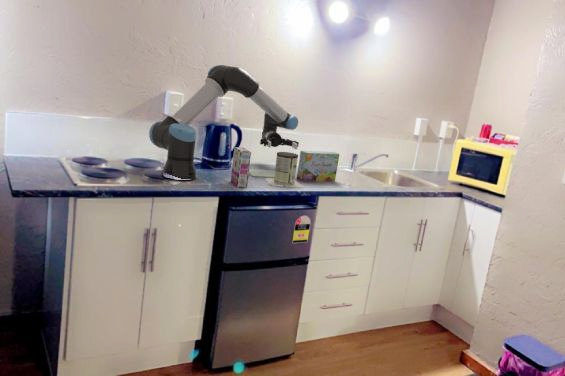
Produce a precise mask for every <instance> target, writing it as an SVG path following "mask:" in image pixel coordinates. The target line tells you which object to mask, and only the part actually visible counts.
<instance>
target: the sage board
mask: <svg viewBox="0 0 565 376" xmlns="http://www.w3.org/2000/svg"><path fill="white" fill-rule="evenodd" d="M248 175H250V176H251V177H252V178H263V179H265V178H274V176H275V170H271V169H257V168H256V169H255V168H253V169H252V168H249V173H248Z"/></svg>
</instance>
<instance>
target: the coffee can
mask: <svg viewBox="0 0 565 376" xmlns="http://www.w3.org/2000/svg"><path fill="white" fill-rule="evenodd" d="M275 158H276V159H275V166H274V167H275V168H274V171H275V176H274V182H275V183H278V184H283V185H293V184H295V180H296V176H297V166H298V158H299V154H297V153H294V152H287V151H278V152H276V157H275Z"/></svg>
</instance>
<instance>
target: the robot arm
mask: <svg viewBox="0 0 565 376" xmlns="http://www.w3.org/2000/svg"><path fill="white" fill-rule="evenodd" d="M204 83H205V84H204V85H203V86H202V87H201V88H200V89H199V90H197V92H195V93H194V95H192V96H191V97H190V98H189V99H188V100H187V101H186V102H185V103H184V104H183V105H182V106H181V107H180V108H179V109H178V110H177V111H176V112H175V113H174V114H173V115H167V116H166V117H165V118H164V119H163V120H162V121H161V120H160V121H156V122H154V123H152V125H151V126H150V128H149V133H148V135H149V136H148V137H149V140H150V142H151V144H153V145H154V146H156V147H157V148H159V149H162V150H166V151H167V156H166V157H167V159H166V161H165V164H164V167H163V169H162V171H163V172H164V173H167V174H169V175H172V176H175V177H178V178H181V179H195V178H196V179H197V170H196V167H195V163H194V162H195V161H194V160H195V149H196V148H195V147H196V139H197V131H196V130H195V127H192V126H191V124H192V123H194V122H195V120H196V119H198V117H200V116H201V114H203V112H204V111H206V109H207V108H208V107H209V106H210V105H212V103H214V102H215V101H216V99H218V98H222V97H224V96H225V95H226V94H227V93H228V92H229V91H230V92H234V93H239V94H240V95H242V96H243V97H244V98H247V99H250V100H251V101H252V102H253V103H254V104H255V105H257V107H259V108H260V109H262V111H264V117H263V118H264V120H263V126H262V127H263V128H262V131H263V132H262V131H261V132H262V137H261V138H260V142H259V145H261V146H262V145H263V147H268V148H272V147H273V148H277V147H279V146H288V147H292V149H294V150H298V148H299V143H300V142H299V141H297V140H291V139H288V138H283V137H282V136H281V134H279V133H278V132H277V130H278V128H280V129H285V130H291V131H292V130H293V131H294V130H295V129H297V128H298V125H299V118H298V117H297V116H296V115H293V114H290V113H288V111H287V110H286V109H284V108H283V106H281V105H280V104H279V103H278V102H277V101H276V100H274V98H272V97H271V95H270V94H268V93H267V92H266V91H265V90H264V89H263V88H262V87H261V86H260V82H258V81H257V79H256V78H255V77H254V76H252V75H251V74H250V73H249V72H247V71H246V70H245V69H243V68H241V67H238V66H230V65H225V64H219V65H218V64H217V65H214V66H212V67H211V68H210V69H209V70H208V72H207V76H206V78H205V80H204ZM196 179H195V180H196Z"/></svg>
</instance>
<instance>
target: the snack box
mask: <svg viewBox="0 0 565 376" xmlns="http://www.w3.org/2000/svg"><path fill="white" fill-rule="evenodd" d="M339 159H340V153H338V152H335V151H323V150H322V151H319V150H316V151H314V150H300V152H299V160H298V165H297V166H298V168H297V171H296V180H297V181H300V182H321V183H322V182H324V183H325V182H328V183H329V182H336V178H337V173H338V164H339Z"/></svg>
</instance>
